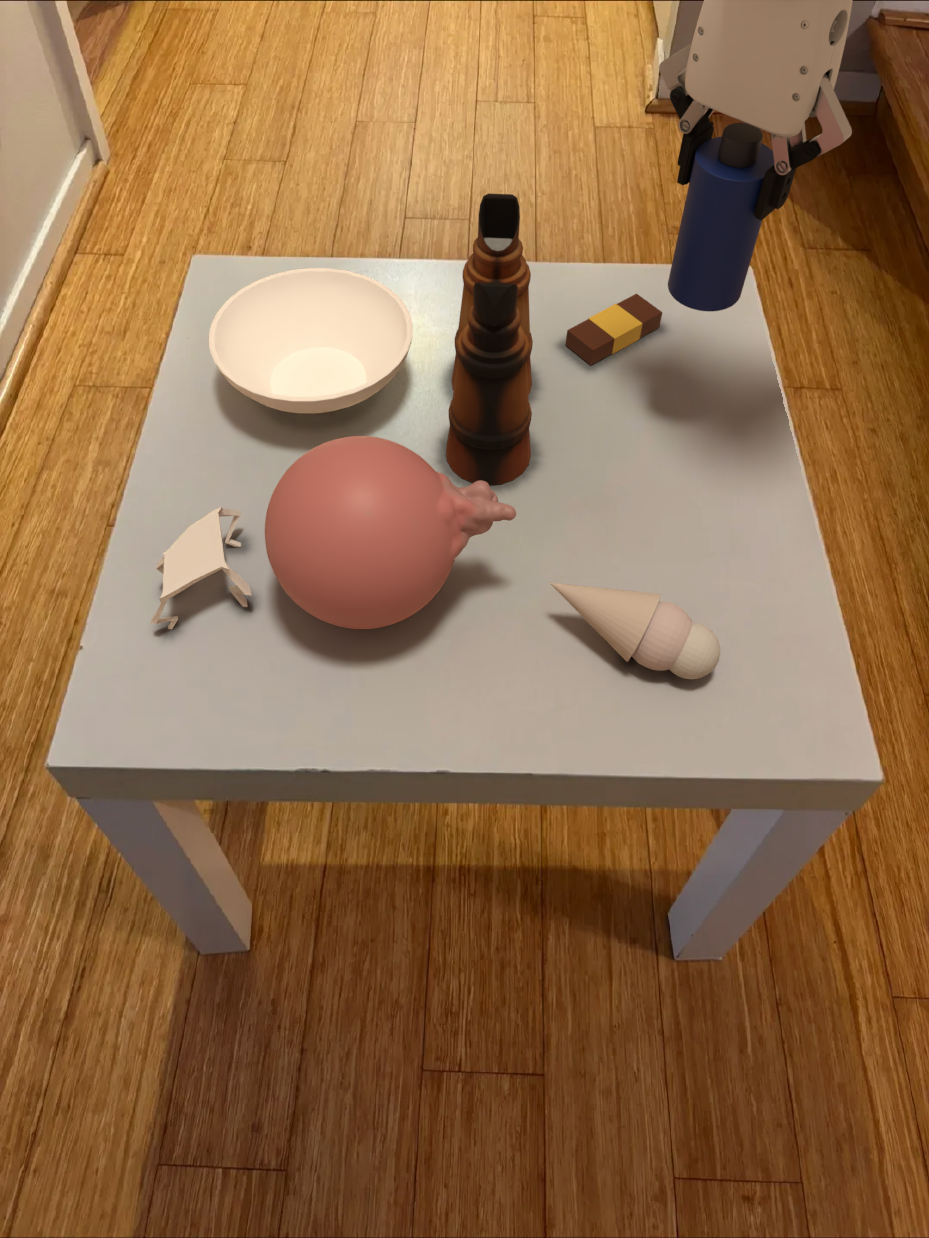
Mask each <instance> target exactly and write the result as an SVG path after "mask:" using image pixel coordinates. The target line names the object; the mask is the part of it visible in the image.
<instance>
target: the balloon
mask: <svg viewBox="0 0 929 1238" xmlns="http://www.w3.org/2000/svg"><path fill="white" fill-rule="evenodd" d="M490 486H491V485H489V484H488V483H487V482H485V481H482V480H479V481H476V482H474V483H471V484H470V485H468V486H460V487H459V486H456V485H455V484H453V482H452V481H451V479H450V478H449V476H447V475H446V474H444V473H442V472H438V471H436V470H435V469H434V467H432V466H431V464H430V463H429V462H428V461H426V460H425V459H424V458H422V456H420V455H419V454H418V453H416V452H415V451H414V450H412V449H410V448H408V447H407V446H404V445H402V444H400V443H398V442H395V441H392V440H389V439H387V438H381V437H376V436H371V435H353V436H344V437H340V438H335V439H332V440H329V441H326V442H323V443H321V444H319V445H317V446H315V447H313V448H311V449H309V450H308V451H307V452H305V453H303V454H302V455H301V456H300V457H299V458H298V459H296V460H295V461H294V462H293V463H292V464H291V465H290V466H289V467H288V468H287V470H286V471H284V474H283V475H282V476H281V477H280V478H279V480H278V482H277V484H276V485H275V488H274V489H273V491H272V494H271V496H270V500H269V501H268V505H267V509H266V514H265V520H264V544H265V550H266V554H267V558H268V562H269V564H270V567H271V569H272V572H273V574H274V576H275V578H276V579H277V582H278V583H279V585H280V586H281V587H282V589H283V591H284V592H285V593H286V594H287V596H289V597H290V599H291V600H292V601H293V602H294V603H295V604H296V605H298V606H299V607H300V608H301V609H303V610H304V611H305V612H307V613H308V614H310V615H311V616H313V617H315V618H316V619H319V620H320V621H322V622H325V623H328V624H331V625H333V626H336V627H340V628H346V629H353V630H372V629H379V628H384V627H388V626H391V625H394V624H397V623H399V622H402V621H404V620H406V619H408V618H410V617H411V616H413V615H415V614H417V613H418V612H419V611H420V610H422V609H423V608H424V607H425V606H427V605H428V604H429V603H430V602H431V601H432V600H433V599H434V597H435V596H436V595H437V594H438V593H439V592H440V590H441V589H442V587H443V586H444V584H445V582H446V581H447V579H448V577H449V575H450V573H451V570H452V569H453V565H454V562H455V559H456V558H458V556H460V554H461V553H462V551H463V550H464V549H465V548H466V546H467V545H468V543H469V540H470V538H472V537H474V536H478V535H483V534H485V533H487V532H488V531H490V529H491V528H492V527H493V524H494V522H502V521H513V520H514V519H515V518H516V517H517V511H516V508H515V507H514V506H512V505H510V504H507V503H505V502H501V501H499V498H498V496H497V494H496V492H495V491H494V490H493V489H492V488H491V487H490Z"/></svg>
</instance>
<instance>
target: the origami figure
mask: <svg viewBox="0 0 929 1238" xmlns="http://www.w3.org/2000/svg"><path fill="white" fill-rule="evenodd" d="M241 513H242V511H240V510H236V509H230V508H223V507H222V506H220V507H218V508H215V509H214V510H212V511H210V512H209V513H207V514H206V515H204V516H203V517H201V518H200V519H198V520H196V521H195V522H194V523H192V524H191V525H189V526H188V527H187V529H185V530H184V531H183V532H182V534H181V535H180V536H179V537H178V538H177V539H176V540H175V541H174V542H173V543H172V545H170V546H169V548H168V549H167V550H166V551H164V552H162V556H163V557H162V558H161V559H160V560H158V562H157V563H156V568H155V569H156V570H157V571H158V572H159V573H161V574H162V592H161V594H160V597H159V601H160V603H159V606H158V609H157V610H156V612H155V613H154V614H153V616H152V618H151V621H150V624H154V625H155V624H157V625H158V624H163V623H169V624H168V626H167V630H173V628H174V626H175V625H176V624H177V622H178V620H179V615H175V616H173V615H172V616H166V617H161V615H162V613H163V611H164V608H165V606H166V604H167V601H168V600H170V599H171V598H173V597H175V596H176V595H178V594H180V593H181V592H183V591H185V590H187V588H190V587H191V586H192V585H194V584H196V583H197V582H199V581H201V580H203V579H206V578H207V577H209V576H211V575H213V574H215V573H217V572H219V571H221V570H222V571H223V572H224V573H225V574H226V575H227V577H228V578H229V579H230V580H231V581H232V582H233V584H235V585H230V586H229V591H230V593H231V594H232V595H233V597H234V598H235V600H237V602H239V604H240V605H241V606H242V608H248V607H249V606H248V600H247V599H246V597H245V596H252V591H251V586H250V585H249V584H248V582H247V581H245V580H244V579H243V578H242V577H241V576H240V575H239V574H238V573H236V572H235V570H233V569H232V567H230V565H228V564H227V563H226V560H225V558H226V557H225V550H224V543H225V544H228V545H230V546H232V547H235V548H241V547H242V542H240V541H238V540H235V539H231V538H232V535H233V532H234V530H235V528H236V526H237V524H238V521H239V519H240V517H241ZM220 517H232V520H231V523H230V525H229V528H228V531H227V534H226V537H225V542H224V543H223V535H222V528H221V520H220Z"/></svg>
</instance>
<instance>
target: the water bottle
mask: <svg viewBox="0 0 929 1238" xmlns="http://www.w3.org/2000/svg"><path fill="white" fill-rule="evenodd" d="M763 138H764V133H763V130H762V129H759V128H757V127H755V126H752V125H750V124H747V123H745V122H733V123H730V124H727V125H726V126H725V127H724V128H723V131H722V134H721V136H716V137H712V139H709V140H707V141H705V142H703V143H702V144H701V145H700V146H699V147H698V148H697V150H696V154H695V158H694V163H693V168H692V172H691V177H690V182H689V183H688V187H687V192H686V195H685V196H686V197H685V200H684V206H683V209H682V210H683V211H682V215H681V220H680V224H679V228H678V233H677V238H676V242H675V247H674V252H673V258H672V261H671V267H670V271H669V276H668V280H667V289H668V292H669V294H670V295H671V297H672V298H673V299H674V300H675V301H676V302H678V303H679V304H681V305H683V306H684V307H686V308H689V309H692V310H695V311H699V312H700V311H701V312H719V311H720V312H721V311H724V310H726V309H730V308H731V307H733V306H734V305H736V303H737V302H739V300H740V298H741V295H742V292H743V289H744V286H745V282H746V279H747V278H746V277H747V275H748V271H749V268H750V265H751V261H752V257H753V254H754V252H755V251H754V250H755V249H756V248H755V247H756V244H757V241H758V237H759V233H760V230H761V227H762V223H763V220H762V221H761V220H759V219H756V218H755V216H754V211H755V208H756V204H757V201H758V197H759V193H760V190H761V186H762V183H763V179H764V176H765V173H766V171H767V170H768V169H769V168H771V167H772V166H773V165H774V158H773V149H771V148H770V147H769V146H768V145H766V144H764V143H763V142H762V141H763Z"/></svg>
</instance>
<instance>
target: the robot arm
mask: <svg viewBox="0 0 929 1238" xmlns="http://www.w3.org/2000/svg"><path fill="white" fill-rule="evenodd" d="M852 8H853V0H703V2H702V5H701V9H700V12H699V15H698V19H697V22H696V26H695V30H694V34H693V37H692V41H691V42H690V43H689V44H687V45H686V46H684V47H683V48H681V49H680V50H678V51H677V52H675V53H673V54H671V55H670V56H669V57H667V58H666V59H664V60H662V61H661V62H660V63H659V65H658V70H659V73H660V75H661V77H662V80H663V82H664V85H665V86H666V89H667V91H669V92H670V93H669V100H670V102H671V104H672V106H673V109H674V110H675V112H676V115H677V116H678V118H679V121H678V124H677V125H678V129H679V131H680V132H681V133H682V138H681V143H680V148H679V153H678V158H677V166H678V167H679V169H678V175H677V179H676V182H677V184H679V185H681V186H685V185H689V182H690V177H691V172H692V168H693V163H694V158H695V154H696V150H697V148H698V147H699V146H700V145H701V144H702V143H703V142H705V141H707V140H709V139H712V138H713V134H714V130H715V127H714V122H713V121H711V119H710V117H712V115H713V113H714V112H715V111H716V112H719V113H721V114H723V115H725V116H728V117H730V118H733V119H735V120H738V121H740V122H741V123H747V124H750V125H752V126H755V127H757V128H759V129H760V130H761V131H764V132H767V133H770V140H771V147H772V149H771V150H772V151H773V158H774V165H773V166H772V167H771V168H769V169H768V170H767V171H766V173H765V176H764V179H763V183H762V186H761V190H760V193H759V197H758V201H757V204H756V208H755V211H754V216H755V218H756V219H759V220H761V221H762V222H763V220H765V218H766V217H768V216H769V215H770V214H771V213H773V212H774V211H775V210H780V209H781V208H782V207H783V206H784V205H785V203H786V202H787V199H788V197H789V194H790V191H791V187H792V184H793V181H794V177H795V174H796V171H797V168H800V167H802V166H803V165H805V164H808V163H809V162H812V161H813V160H815V159H816V158H818V157H820V156H821V155H822V156H823V154H826V153H828V152H829V151H831V150H834V149H835V148H837V147H839V146H841V145H842V144H843V143H845V141H847V140H848V139H849V138H850V137H851V136H852V134H853V130H852V126H851V124H850V122H849V120H848V117H847V116H846V113H845V111H844V109H843V108H842V107H843V106H842V105H841V102H840V101H839V98H838V96H837V94H836V91H835V86H836V83H837V79H838V76H839V72H840V68H841V63H842V59H843V55H844V50H845V47H846V42H847V36H848V30H849V25H850V19H851V15H852ZM809 118H816V119H817V121H818V123H819V125H820V128H821V130H822V131H821V133H820V134H818V135H815V136H813V137H811V138H809V139H808V140H807V132H806V123H805V122H806V121H807V120H808V119H809Z"/></svg>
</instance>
